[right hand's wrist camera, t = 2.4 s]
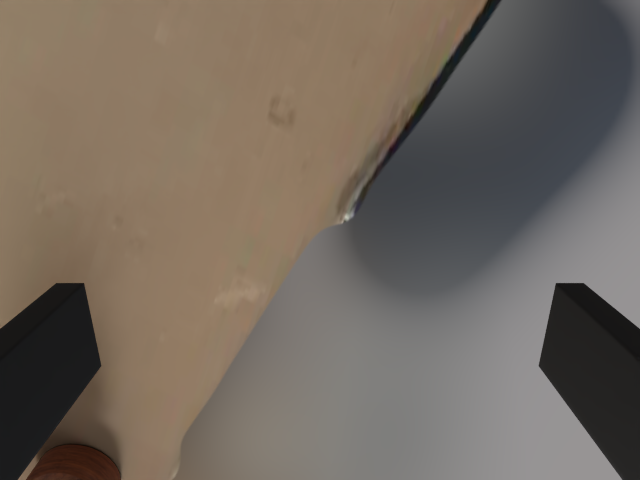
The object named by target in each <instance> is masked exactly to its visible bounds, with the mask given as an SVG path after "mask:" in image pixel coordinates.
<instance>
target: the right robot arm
mask: <svg viewBox="0 0 640 480" xmlns="http://www.w3.org/2000/svg"><path fill="white" fill-rule="evenodd" d="M100 367H101V362H100V358H99V353H98V348H97V343H96V338H95V334H94V329H93V324H92V319H91V314H90V310H89V305H88V300H87V295H86V290H85V286H84V283H56V284H55V285H54V286H52V287H51V288H50V289H49V290H48V291H46V292H45V293H44V294H43V295H41V296H40V297H39V298H38V299H36V300H35V301H34V302H33V303H32V304H30V305H29V306H28V307H27V308H25V309H24V310H23V311H22V312H21V313H19V314H18V315H17V316H16V317H14V318H13V319H12V320H11V321H9V322H8V323H7V324H6V325H5V326H3V327H2V328H1V329H0V480H18V478H19V477H20V476H21V474H22V473H23V472H24V470H25V469H26V468H27V466H28V465H29V463H30V462H31V461H32V459H33V458H34V457H35V455H36V454H37V453H38V451H39V450H40V448H41V447H42V446H43V444H44V443H45V442H46V440H47V439H48V438H49V436H50V435H51V434H52V432H53V431H54V429H55V428H56V427H57V425H58V424H59V423H60V421H61V420H62V419H63V417H64V416H65V414H66V413H67V412H68V410H69V409H70V408H71V406H72V405H73V404H74V402H75V401H76V400H77V398H78V397H79V395H80V394H81V393H82V391H83V390H84V389H85V387H86V386H87V385H88V383H89V382H90V381H91V379H92V378H93V376H94V375H95V374H96V372H97V371H98V370H99V368H100ZM539 367H540V368H541V370H542V371H543V372H544V374H545V375H546V376H547V378H548V379H549V380H550V382H551V383H552V385H553V386H554V387H555V389H556V390H557V391H558V393H559V394H560V395H561V397H562V398H563V400H564V401H565V402H566V404H567V405H568V406H569V408H570V409H571V410H572V412H573V413H574V414H575V416H576V417H577V418H578V420H579V421H580V423H581V424H582V425H583V427H584V428H585V429H586V431H587V432H588V434H589V435H590V436H591V438H592V439H593V440H594V442H595V443H596V444H597V446H598V447H599V448H600V450H601V451H602V453H603V454H604V455H605V457H606V458H607V459H608V461H609V462H610V463H611V465H612V466H613V468H614V469H615V470H616V472H617V473H618V474H619V476H620V477H621V478H622V480H640V329H639V328H638V327H637V326H635V325H634V324H633V323H632V322H631V321H629V320H628V319H627V318H626V317H624V316H623V315H622V314H621V313H619V312H618V311H617V310H616V309H615V308H613V307H612V306H611V305H610V304H608V303H607V302H606V301H605V300H604V299H602V298H601V297H600V296H599V295H597V294H596V293H595V292H594V291H592V290H591V289H590V288H589V287H588V286H586V285H585V284H584V283H556V286H555V290H554V295H553V300H552V305H551V310H550V314H549V319H548V324H547V329H546V334H545V339H544V344H543V348H542V353H541V358H540V362H539Z"/></svg>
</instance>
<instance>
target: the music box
mask: <svg viewBox="0 0 640 480" xmlns="http://www.w3.org/2000/svg"><path fill="white" fill-rule="evenodd" d="M26 480H121V479H120V474H119V471H118V469H117V467H116V465H115V464H114V463H113V462H112V461H111V460H110V459H109V458H108V457H107V456H106V455H104V454H103V453H101V452H99V451H97V450H95V449H93V448H90V447H87V446H82V445H62V446H58V447H55V448H53V449H51V450H49V451H48V452H46V453H45V454H44V455H43V456H42V458H41V459H40V461H39V462H38V463H37V465H36V466H35V468H34V469H33V470H32V472H31V473H30V475H29V476H28V477H27V479H26Z"/></svg>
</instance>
